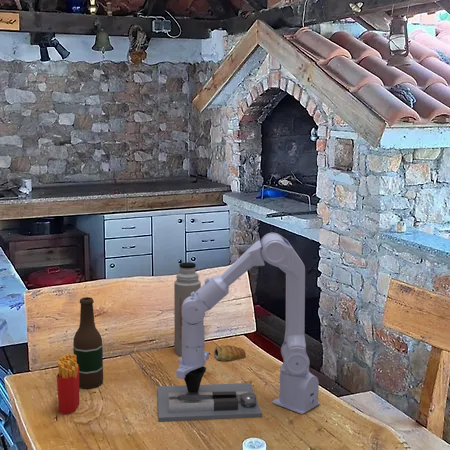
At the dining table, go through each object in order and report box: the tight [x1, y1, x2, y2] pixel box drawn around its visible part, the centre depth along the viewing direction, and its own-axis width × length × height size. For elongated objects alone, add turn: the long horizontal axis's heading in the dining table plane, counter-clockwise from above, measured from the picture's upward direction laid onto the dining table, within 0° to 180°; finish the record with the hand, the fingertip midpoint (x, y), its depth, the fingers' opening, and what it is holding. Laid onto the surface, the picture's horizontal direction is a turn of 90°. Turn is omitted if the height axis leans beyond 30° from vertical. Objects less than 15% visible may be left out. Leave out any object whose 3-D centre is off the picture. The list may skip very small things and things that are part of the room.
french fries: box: [56, 353, 80, 415], centre depth 162 cm, size 9×4×13 cm, turn 177°
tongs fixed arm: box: [168, 398, 238, 413], centre depth 160 cm, size 17×2×2 cm, turn 97°
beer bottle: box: [72, 296, 104, 390], centre depth 175 cm, size 8×8×24 cm
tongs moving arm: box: [168, 391, 257, 407], centre depth 163 cm, size 22×5×2 cm, turn 93°
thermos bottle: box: [173, 261, 202, 357], centre depth 198 cm, size 8×8×28 cm
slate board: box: [157, 382, 263, 422], centre depth 166 cm, size 25×18×1 cm
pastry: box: [213, 344, 246, 362], centre depth 197 cm, size 9×7×4 cm
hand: (193, 395), depth 166 cm, fingers closed
